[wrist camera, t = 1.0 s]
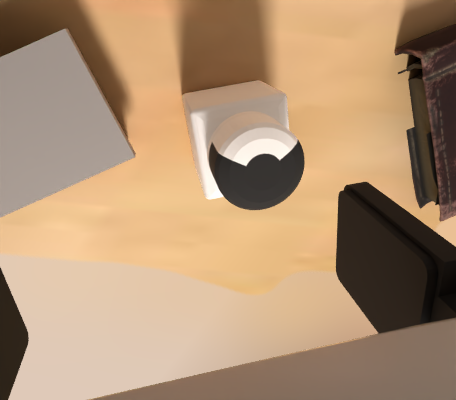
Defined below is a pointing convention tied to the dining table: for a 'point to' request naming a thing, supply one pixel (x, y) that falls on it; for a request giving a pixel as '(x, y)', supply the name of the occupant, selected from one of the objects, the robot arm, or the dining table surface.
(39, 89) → the podium
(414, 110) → the diary
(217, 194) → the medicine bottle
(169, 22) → the dining table surface
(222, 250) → the dining table surface
